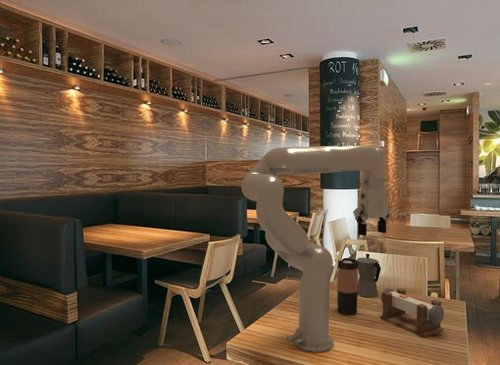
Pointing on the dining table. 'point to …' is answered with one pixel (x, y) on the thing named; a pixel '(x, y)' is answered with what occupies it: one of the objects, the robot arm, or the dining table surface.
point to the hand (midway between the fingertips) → (372, 233)
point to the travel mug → (347, 286)
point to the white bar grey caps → (415, 306)
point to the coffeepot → (368, 276)
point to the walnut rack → (409, 317)
